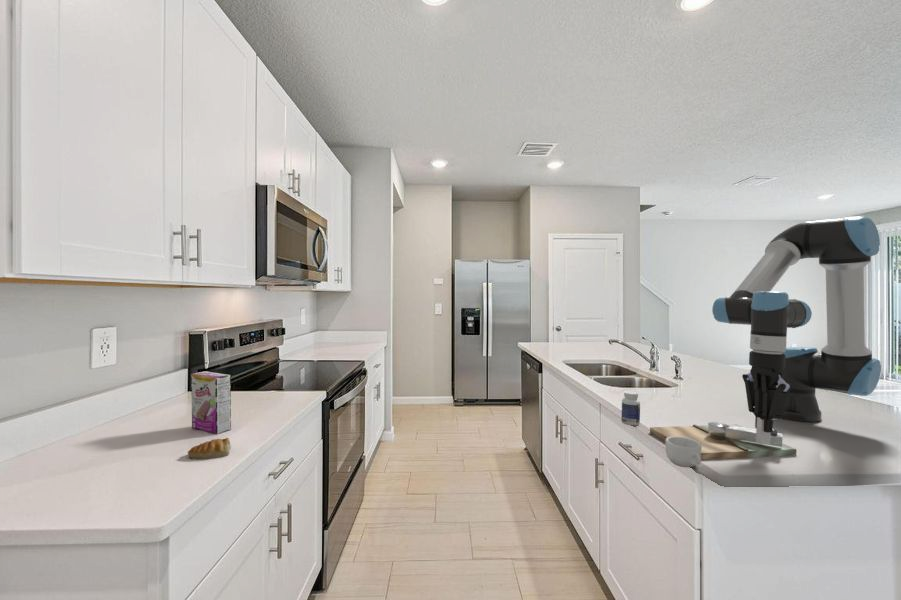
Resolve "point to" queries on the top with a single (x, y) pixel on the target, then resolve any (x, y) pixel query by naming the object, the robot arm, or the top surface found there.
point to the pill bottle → (630, 409)
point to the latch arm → (741, 433)
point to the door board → (721, 443)
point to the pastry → (211, 449)
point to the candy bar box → (211, 402)
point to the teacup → (683, 451)
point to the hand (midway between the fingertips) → (762, 443)
